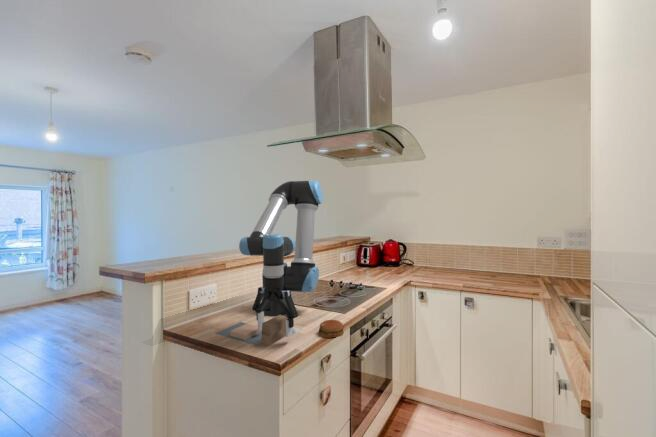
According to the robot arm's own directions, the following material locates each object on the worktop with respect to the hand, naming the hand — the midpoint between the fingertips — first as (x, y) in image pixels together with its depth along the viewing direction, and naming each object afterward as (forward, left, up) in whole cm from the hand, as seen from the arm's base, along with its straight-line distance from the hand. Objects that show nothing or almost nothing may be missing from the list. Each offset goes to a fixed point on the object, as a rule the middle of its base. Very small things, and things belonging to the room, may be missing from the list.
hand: (274, 332), depth 115 cm
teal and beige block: (+6, -12, -1) cm, 13 cm away
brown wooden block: (-3, -2, -3) cm, 4 cm away
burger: (-22, +2, -3) cm, 22 cm away
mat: (+9, -11, -3) cm, 14 cm away
